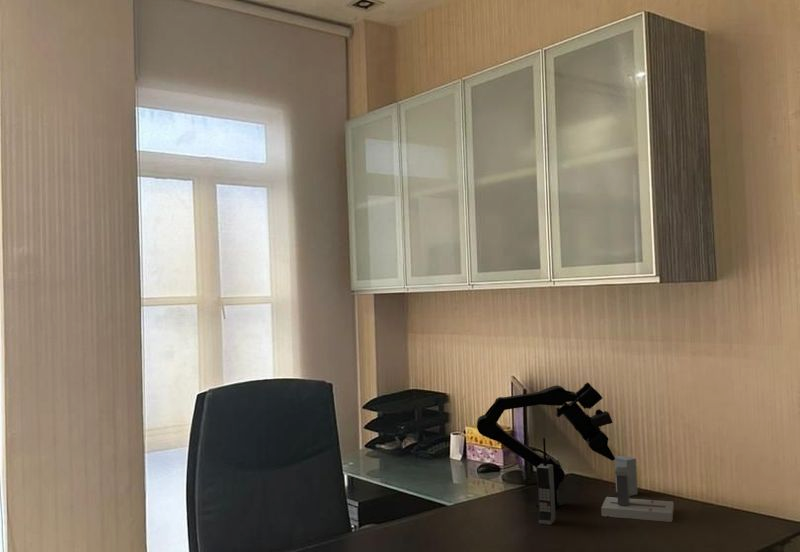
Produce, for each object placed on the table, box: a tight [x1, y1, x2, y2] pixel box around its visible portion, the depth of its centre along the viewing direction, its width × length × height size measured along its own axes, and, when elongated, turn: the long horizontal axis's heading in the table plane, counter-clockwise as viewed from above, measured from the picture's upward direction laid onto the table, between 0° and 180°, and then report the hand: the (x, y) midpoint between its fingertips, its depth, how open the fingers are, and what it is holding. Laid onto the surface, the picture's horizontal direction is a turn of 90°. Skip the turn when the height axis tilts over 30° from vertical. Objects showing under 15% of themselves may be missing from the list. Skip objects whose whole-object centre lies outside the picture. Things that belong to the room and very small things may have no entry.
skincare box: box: [614, 454, 638, 497], centre depth 237 cm, size 6×4×12 cm
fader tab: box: [614, 467, 631, 505], centre depth 218 cm, size 4×6×10 cm, turn 157°
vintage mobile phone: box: [535, 437, 556, 526], centre depth 212 cm, size 4×5×25 cm
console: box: [600, 496, 675, 523], centre depth 216 cm, size 20×12×3 cm, turn 67°
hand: (611, 456), depth 225 cm, fingers open, 9 cm apart
